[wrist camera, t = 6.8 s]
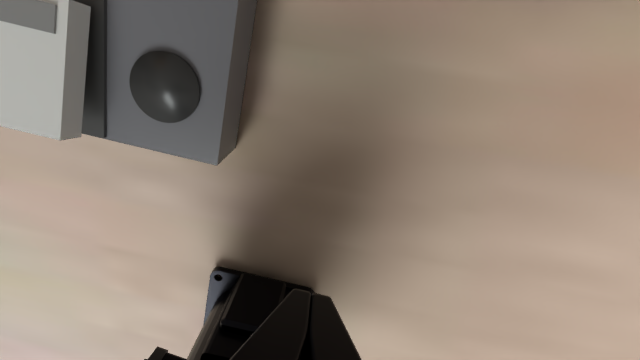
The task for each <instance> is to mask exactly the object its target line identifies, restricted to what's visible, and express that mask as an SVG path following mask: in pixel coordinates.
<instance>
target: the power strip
mask: <svg viewBox="0 0 640 360" xmlns="http://www.w3.org/2000/svg"><path fill="white" fill-rule="evenodd" d="M73 1H76V2H79V3H82V4H85V5H87V6H90V7H91V12H90V25H89V38H88V52H87V65H86V78H85V92H84V105H83V118H82V131H81V133H82V134H86V135H91V136H95V137H99V138H103V139H108V140H112V141H116V142H120V143H124V144H129V145H133V146H137V147H141V148H145V149H150V150H154V151H158V152H162V153H166V154H171V155H175V156H179V157H183V158H187V159H192V160H196V161H200V162H204V163H208V164H213V165H218V164H219V163H220V162H221V161H222V160H223V159H224V158H225V157H226V156H227V155H228V154H229V153H230V152H231V151H233V150H234V149H235V148H236V141H237V134H238V128H239V121H240V114H241V107H242V100H243V93H244V87H245V80H246V73H247V66H248V59H249V52H250V45H251V39H252V32H253V25H254V18H255V11H256V4H257V0H73Z"/></svg>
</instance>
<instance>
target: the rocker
mask: <svg viewBox="0 0 640 360" xmlns="http://www.w3.org/2000/svg"><path fill="white" fill-rule="evenodd" d="M90 12H91V7H90V6H87V5H85V4H82V3H79V2H76V1H73V0H0V126H2V127H6V128H10V129H14V130H18V131H23V132H27V133H31V134H35V135H40V136H44V137H48V138H52V139H56V140H65V139H71V138H77V137H81V131H82V118H83V105H84V92H85V78H86V65H87V52H88V38H89V25H90Z"/></svg>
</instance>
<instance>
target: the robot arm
mask: <svg viewBox="0 0 640 360" xmlns="http://www.w3.org/2000/svg"><path fill="white" fill-rule="evenodd" d="M217 274H219V275H221V276H222V277H219V276H217ZM144 360H361V358H360V356H359V354H358V352H357V350H356V348H355V346H354V344H353V342H352V340H351V338H350V336H349V334H348V332H347V330H346V327H345V325H344V323H343V321H342V319H341V317H340V315H339V313H338V311H337V309H336V307H335V305H334V303H333V301H332V299H331V298H330V297H329V296H326V295H321V294H317V293H314V291H313V290H312V289H311V288H309V287H305V286H300V285H296V284H292V283H287V282H283V281H279V280H274V279H270V278H266V277H261V276H257V275H253V274H249V273H244V272H240V271H236V270H231V269H227V268H223V267H217V268H215V269H214V270H213V271H212V273H211V275H210V282H209V289H208V296H207V304H206V311H205V318H204V325H203V328H202V330H201V332H200V334H199V336H198V338H197V340H196V342H195V344H194V346H193V348H192V350H191V352H190V354H189V356H188V358H187V359H185V358H182V357H179V356H176V355H173V354H170V353H168V350H166V349H163V348H160V347H157V348H156V349H155V350H154V352H153V353H152V354H151V356H150V357H149V358H148V359H144Z"/></svg>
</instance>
